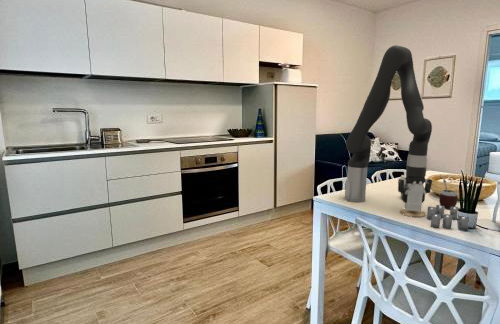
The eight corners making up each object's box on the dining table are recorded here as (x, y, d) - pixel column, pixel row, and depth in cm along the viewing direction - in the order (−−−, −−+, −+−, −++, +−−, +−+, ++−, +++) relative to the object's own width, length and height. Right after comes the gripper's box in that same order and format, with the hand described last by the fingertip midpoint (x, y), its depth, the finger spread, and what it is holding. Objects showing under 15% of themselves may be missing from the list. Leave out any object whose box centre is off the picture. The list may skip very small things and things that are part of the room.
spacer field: (438, 231, 118) (439, 218, 117) (413, 216, 135) (414, 205, 134) (490, 230, 119) (492, 218, 118) (459, 215, 136) (460, 204, 135)
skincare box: (418, 208, 139) (421, 182, 137) (421, 211, 135) (424, 184, 133) (403, 207, 141) (406, 181, 139) (406, 210, 136) (408, 183, 134)
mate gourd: (456, 211, 142) (460, 178, 139) (436, 208, 146) (440, 176, 143) (455, 206, 148) (459, 175, 146) (436, 204, 152) (439, 174, 150)
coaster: (407, 217, 133) (407, 216, 133) (395, 210, 143) (395, 208, 143) (430, 217, 133) (430, 215, 133) (416, 209, 143) (416, 208, 143)
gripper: (404, 166, 131) (401, 205, 133) (438, 166, 131) (434, 204, 134) (395, 163, 138) (392, 200, 141) (427, 163, 139) (423, 199, 141)
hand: (413, 202), depth 137 cm, fingers closed on skincare box, 6 cm apart
